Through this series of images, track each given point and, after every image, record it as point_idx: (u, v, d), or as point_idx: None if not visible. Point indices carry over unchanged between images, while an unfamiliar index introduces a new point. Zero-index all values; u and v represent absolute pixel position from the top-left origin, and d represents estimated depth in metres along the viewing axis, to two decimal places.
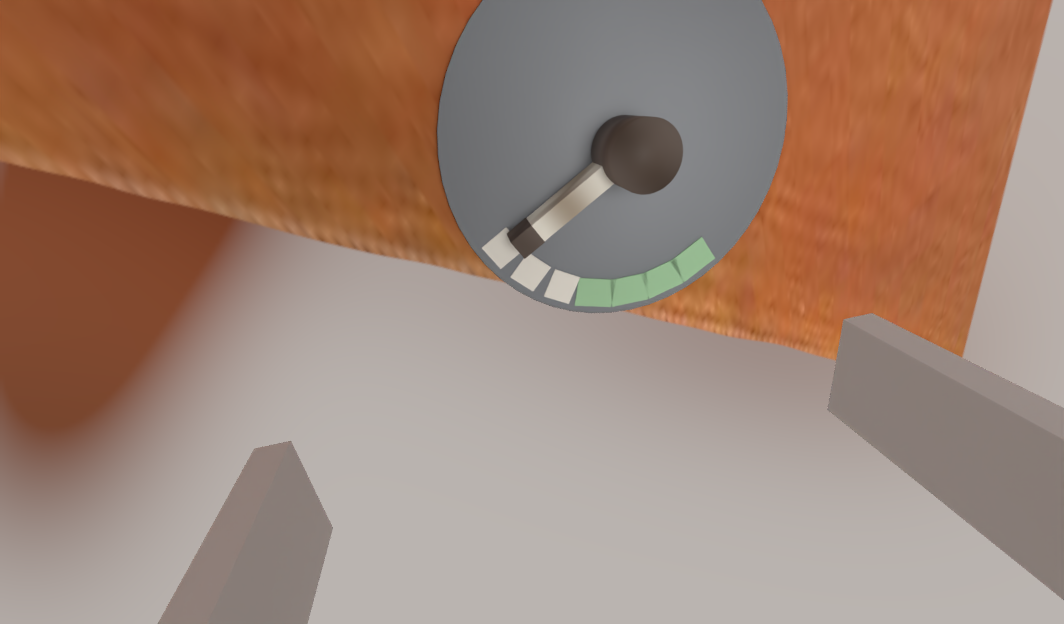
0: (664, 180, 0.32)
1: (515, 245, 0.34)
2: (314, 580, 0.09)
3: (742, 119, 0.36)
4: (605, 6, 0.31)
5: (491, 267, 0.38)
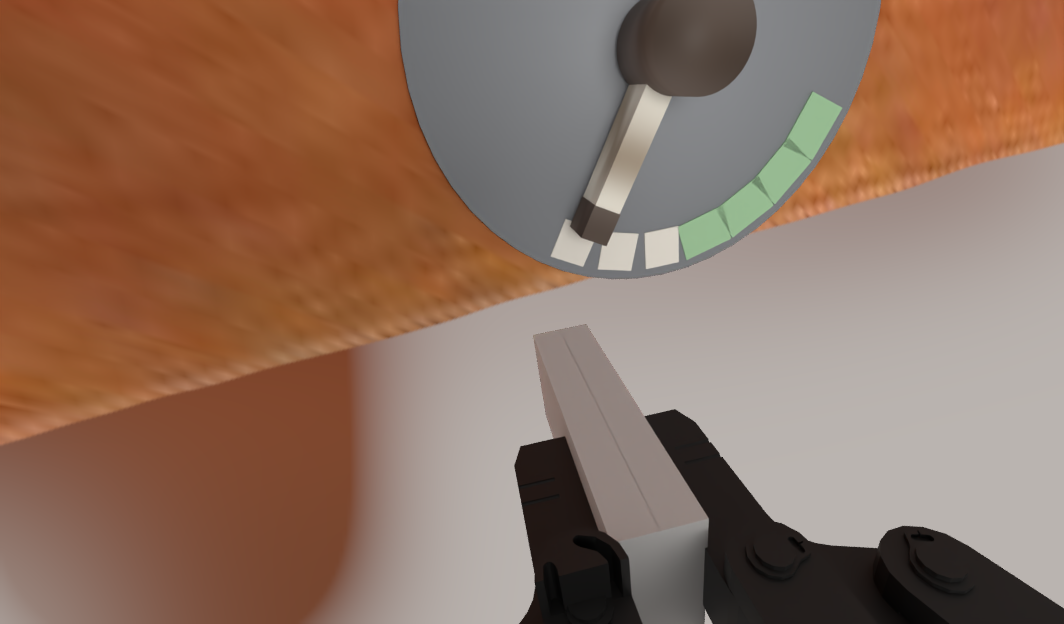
0: (742, 53, 0.22)
1: (588, 237, 0.27)
2: None
3: None
4: None
5: (571, 270, 0.31)
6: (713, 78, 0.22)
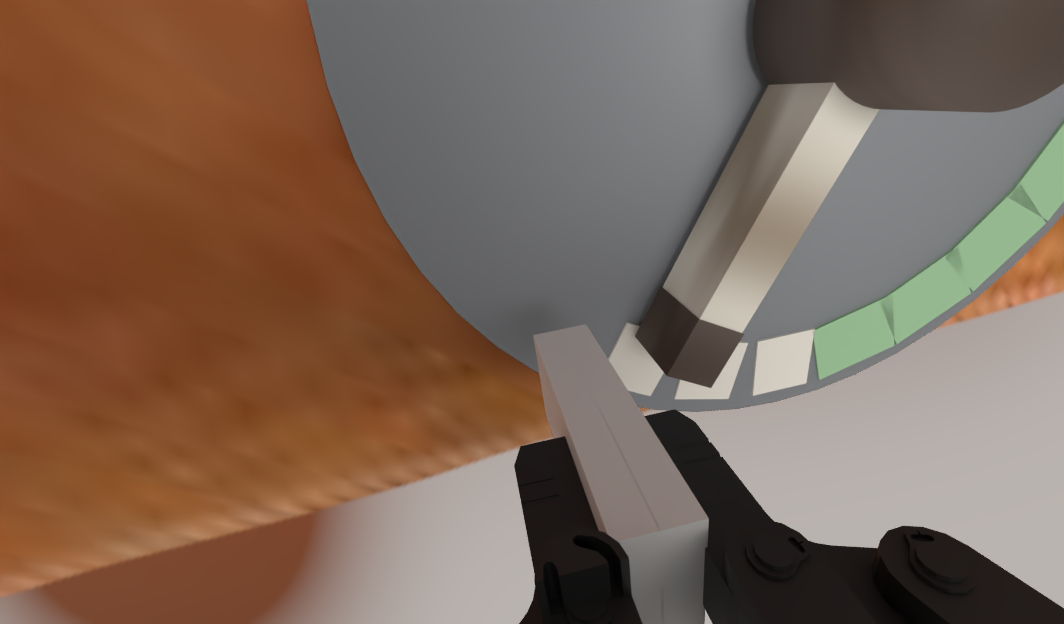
0: None
1: (679, 375, 0.14)
2: None
3: None
4: None
5: None
6: (1034, 69, 0.09)
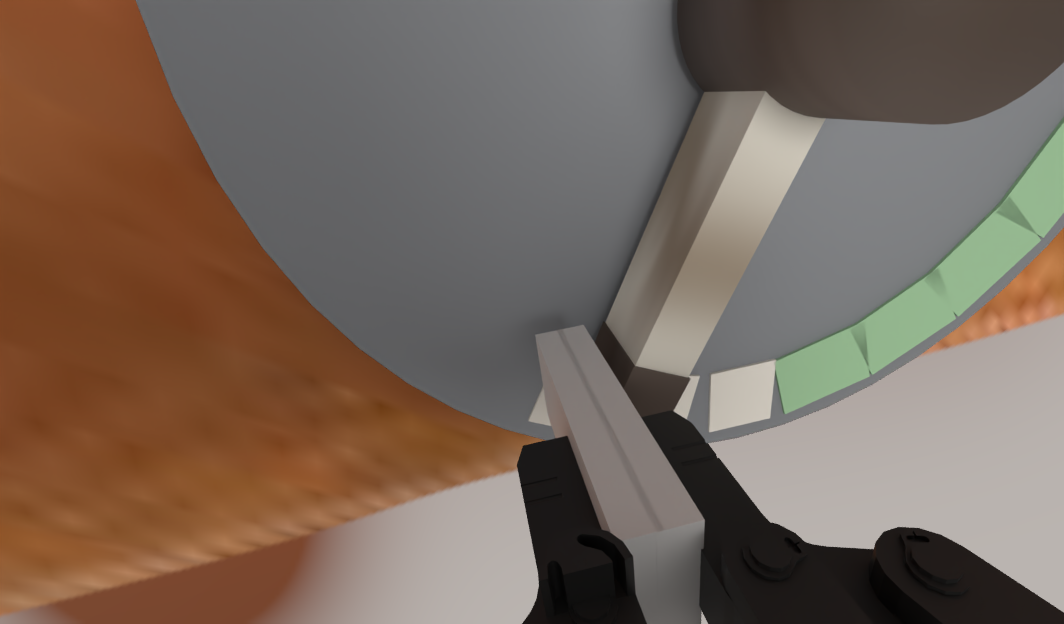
0: None
1: None
2: None
3: None
4: None
5: None
6: (999, 67, 0.07)
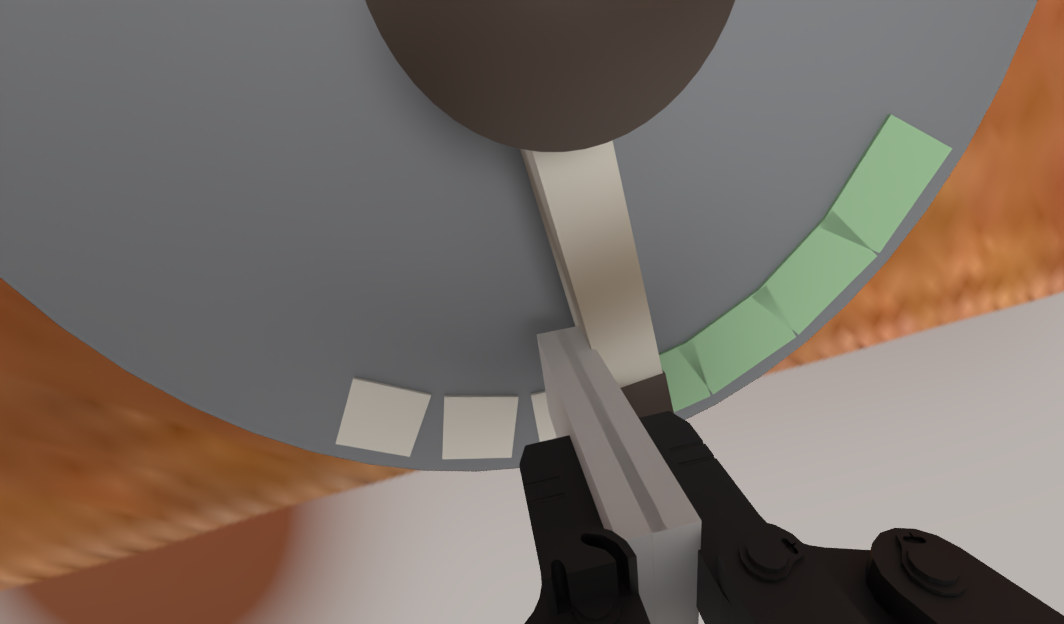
0: None
1: None
2: None
3: None
4: None
5: (388, 462, 0.15)
6: (674, 26, 0.06)
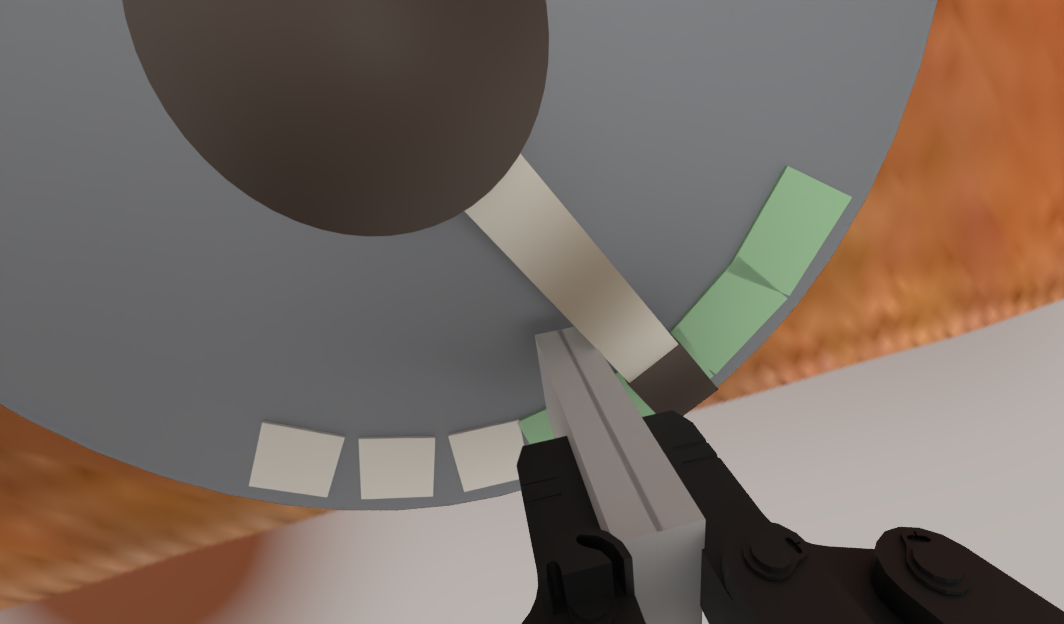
0: None
1: None
2: None
3: None
4: None
5: (306, 503, 0.15)
6: (498, 63, 0.06)
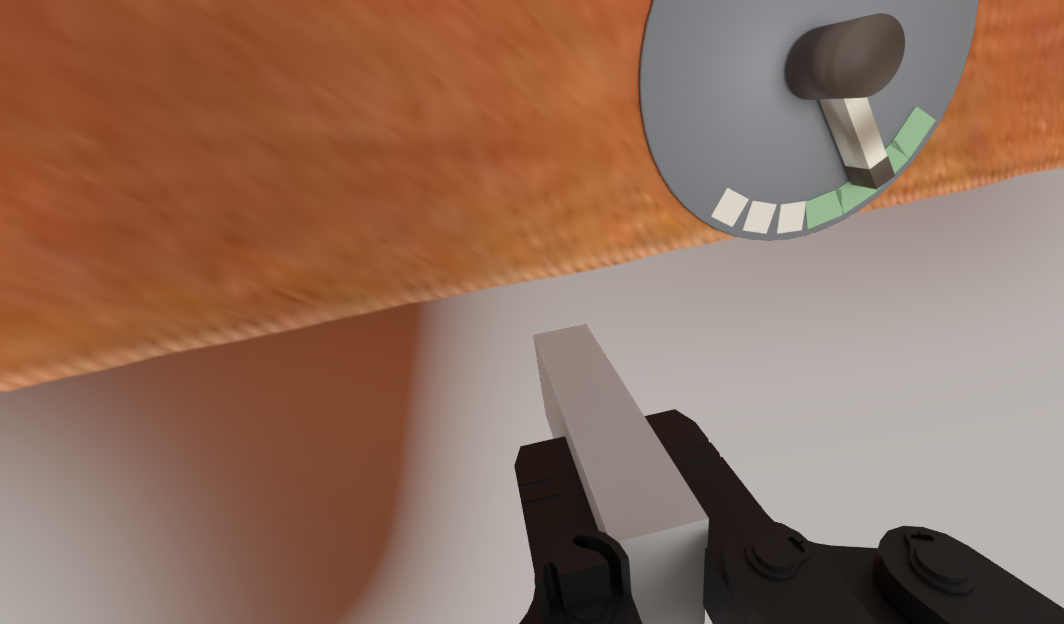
0: (897, 34, 0.30)
1: (880, 184, 0.37)
2: None
3: None
4: None
5: (723, 229, 0.40)
6: (892, 62, 0.31)
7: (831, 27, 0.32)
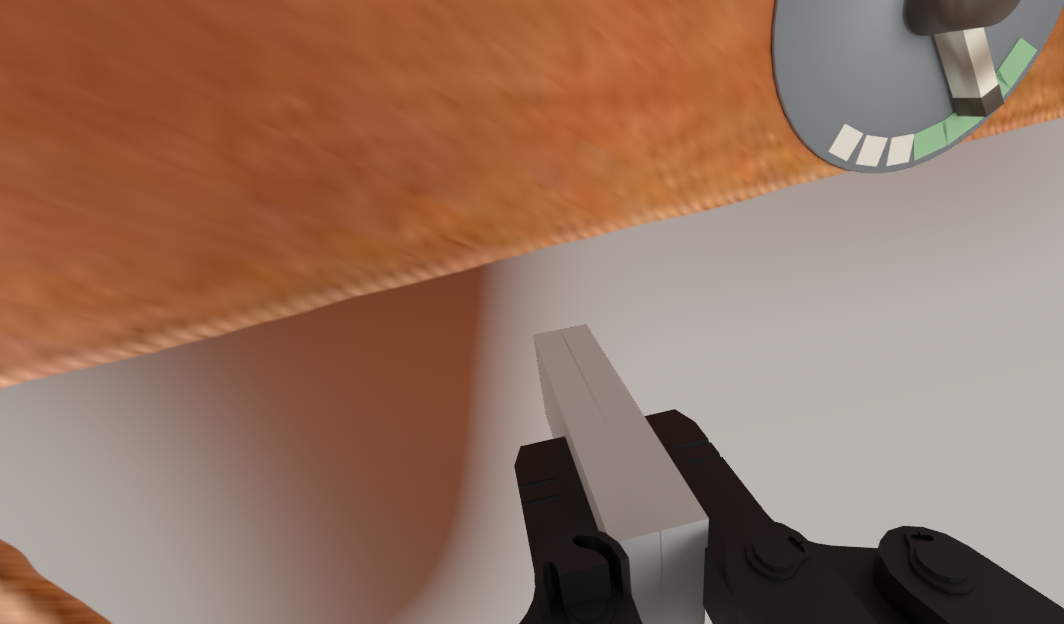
0: None
1: (990, 112, 0.41)
2: None
3: None
4: None
5: (838, 163, 0.43)
6: None
7: None
